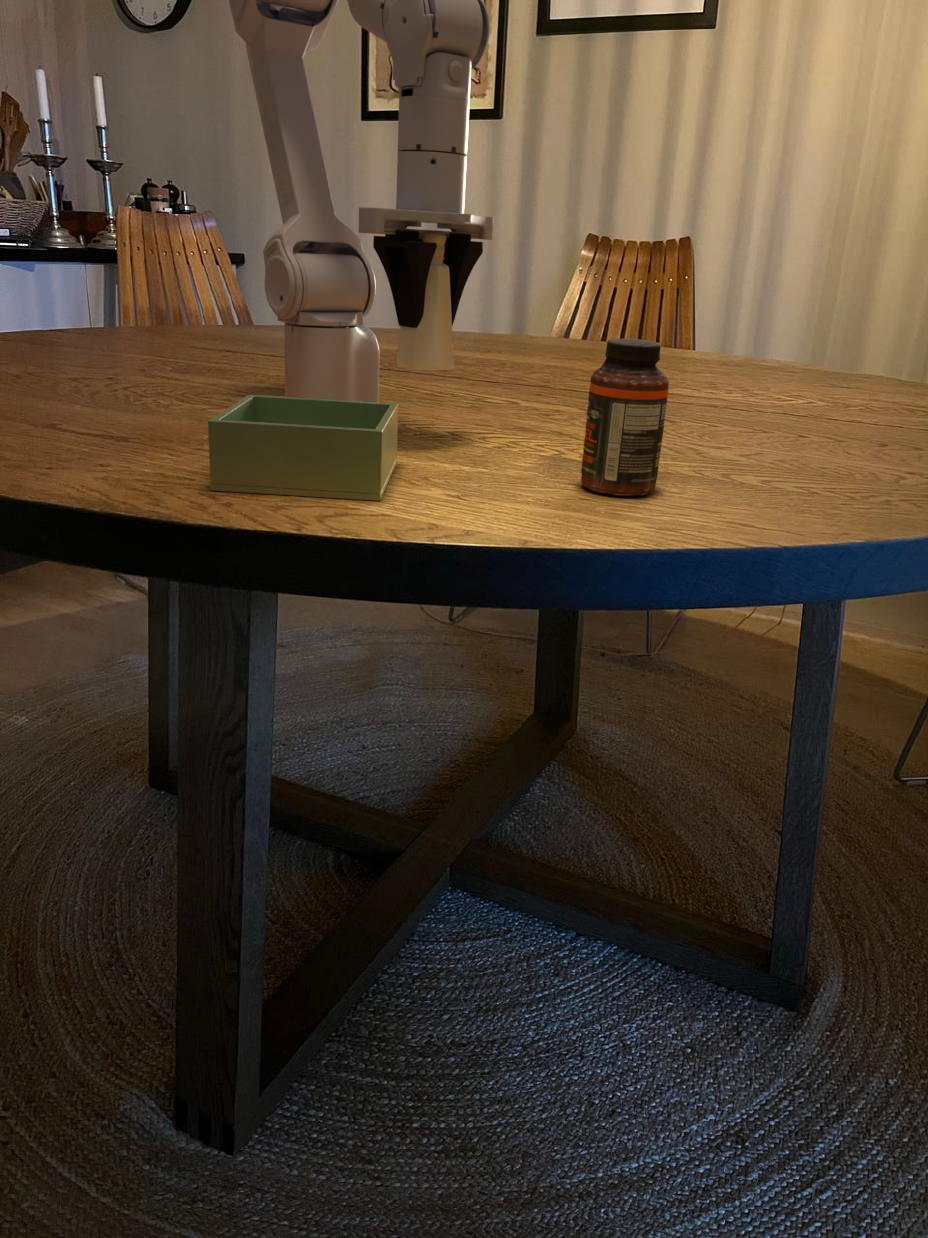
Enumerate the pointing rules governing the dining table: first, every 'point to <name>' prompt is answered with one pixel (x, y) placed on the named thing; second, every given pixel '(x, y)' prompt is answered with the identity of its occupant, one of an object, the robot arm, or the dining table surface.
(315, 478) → the storage bin
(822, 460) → the dining table surface
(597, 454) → the supplement bottle
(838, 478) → the dining table surface
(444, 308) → the pepper shaker
